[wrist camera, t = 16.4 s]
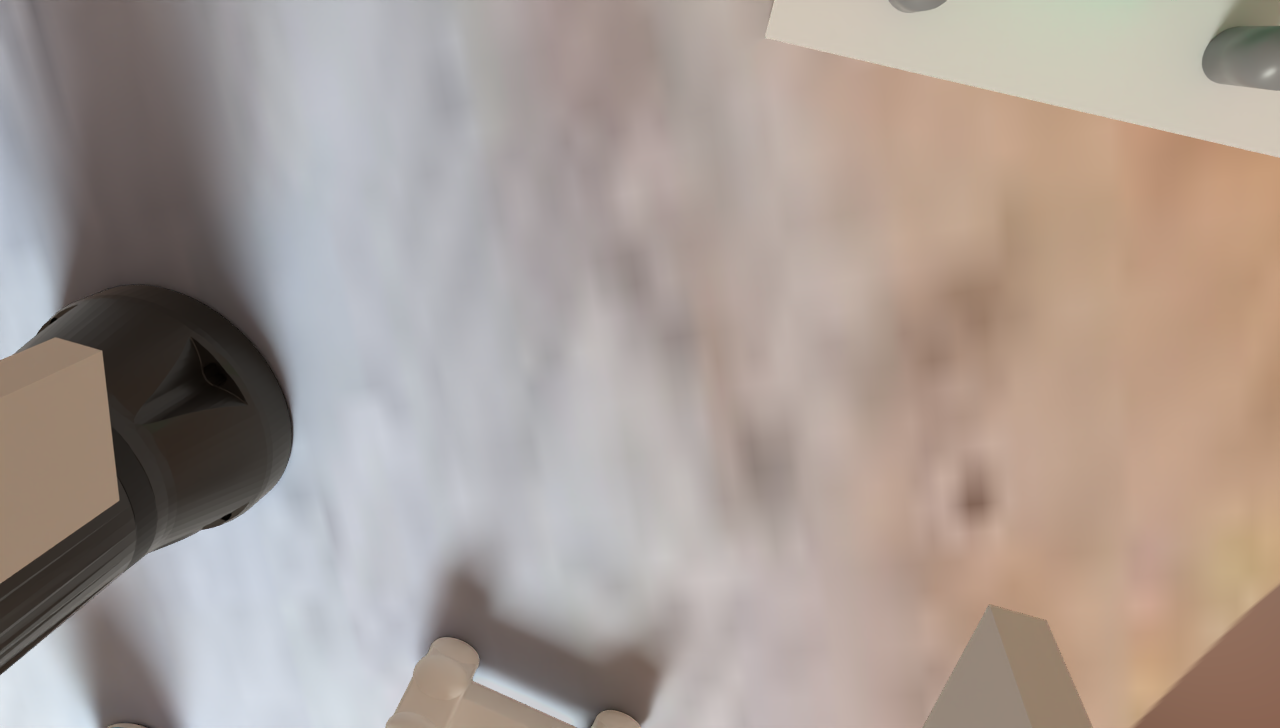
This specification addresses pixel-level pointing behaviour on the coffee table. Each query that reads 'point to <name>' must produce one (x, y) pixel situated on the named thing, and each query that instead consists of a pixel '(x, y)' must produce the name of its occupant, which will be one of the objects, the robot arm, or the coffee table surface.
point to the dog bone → (471, 697)
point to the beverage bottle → (125, 726)
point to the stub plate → (1076, 55)
